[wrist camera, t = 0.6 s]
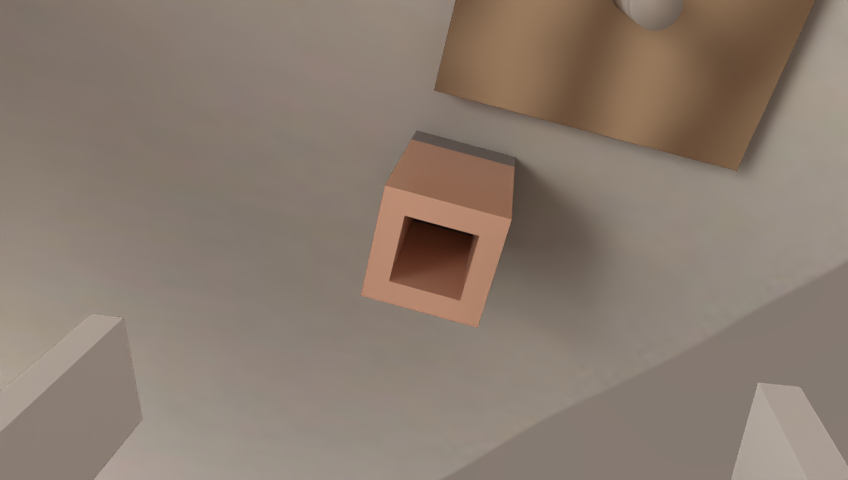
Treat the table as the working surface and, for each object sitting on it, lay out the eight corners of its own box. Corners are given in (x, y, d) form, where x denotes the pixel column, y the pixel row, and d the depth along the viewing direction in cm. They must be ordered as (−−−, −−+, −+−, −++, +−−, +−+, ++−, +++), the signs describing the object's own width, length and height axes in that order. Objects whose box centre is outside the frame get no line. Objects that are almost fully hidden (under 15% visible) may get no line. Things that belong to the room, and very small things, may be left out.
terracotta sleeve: (395, 221, 35) (360, 295, 28) (416, 130, 33) (384, 185, 26) (487, 246, 35) (477, 327, 28) (515, 157, 33) (511, 219, 25)
